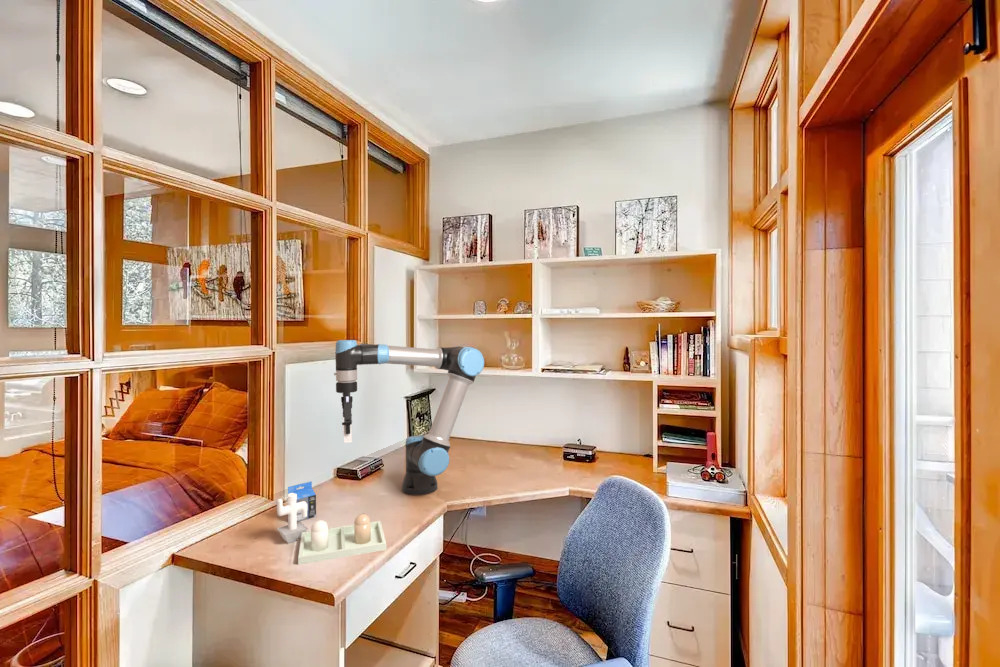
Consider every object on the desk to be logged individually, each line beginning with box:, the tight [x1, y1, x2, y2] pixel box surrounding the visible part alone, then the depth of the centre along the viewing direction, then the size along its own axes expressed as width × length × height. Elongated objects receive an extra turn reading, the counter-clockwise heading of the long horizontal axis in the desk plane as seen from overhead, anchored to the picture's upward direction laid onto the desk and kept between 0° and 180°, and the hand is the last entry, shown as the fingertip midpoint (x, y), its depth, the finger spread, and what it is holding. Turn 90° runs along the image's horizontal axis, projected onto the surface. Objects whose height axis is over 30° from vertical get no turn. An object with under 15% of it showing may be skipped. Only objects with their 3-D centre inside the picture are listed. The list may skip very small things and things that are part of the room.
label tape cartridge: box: [287, 481, 317, 522], centre depth 169 cm, size 9×4×12 cm, turn 135°
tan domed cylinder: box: [353, 513, 371, 544], centre depth 148 cm, size 5×5×8 cm
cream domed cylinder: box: [310, 519, 329, 552], centre depth 144 cm, size 5×5×8 cm
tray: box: [297, 520, 387, 566], centre depth 146 cm, size 25×18×3 cm
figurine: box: [276, 493, 308, 544], centre depth 152 cm, size 7×9×15 cm
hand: (347, 438), depth 171 cm, fingers open, 13 cm apart
